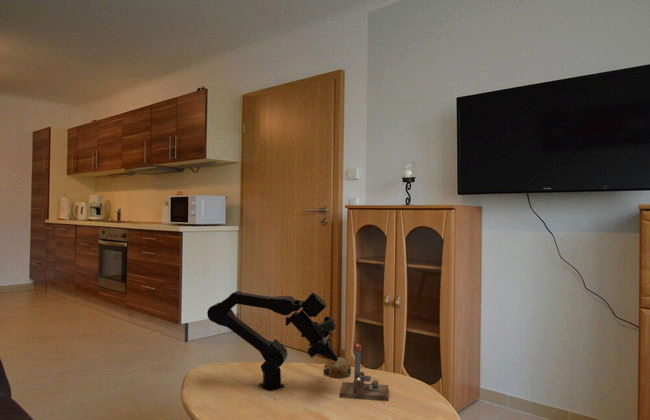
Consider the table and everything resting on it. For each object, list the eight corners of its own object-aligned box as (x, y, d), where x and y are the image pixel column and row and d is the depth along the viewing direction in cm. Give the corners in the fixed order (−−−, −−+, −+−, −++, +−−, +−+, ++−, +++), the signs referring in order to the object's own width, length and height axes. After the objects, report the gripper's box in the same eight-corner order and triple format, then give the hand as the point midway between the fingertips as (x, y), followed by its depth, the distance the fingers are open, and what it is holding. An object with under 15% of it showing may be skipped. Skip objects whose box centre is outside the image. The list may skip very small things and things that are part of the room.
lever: (352, 385, 153) (353, 345, 153) (353, 379, 159) (354, 340, 159) (370, 387, 152) (371, 346, 152) (370, 380, 158) (371, 341, 158)
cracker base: (339, 397, 151) (339, 380, 151) (342, 386, 161) (342, 370, 161) (388, 401, 149) (388, 384, 149) (388, 389, 159) (388, 373, 159)
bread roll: (343, 389, 168) (353, 370, 167) (319, 375, 170) (328, 356, 169) (347, 379, 178) (356, 361, 177) (324, 366, 179) (333, 348, 179)
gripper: (318, 316, 148) (351, 352, 147) (326, 305, 167) (355, 337, 165) (294, 339, 149) (326, 375, 148) (304, 325, 168) (333, 357, 166)
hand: (336, 360), depth 156 cm, fingers closed
